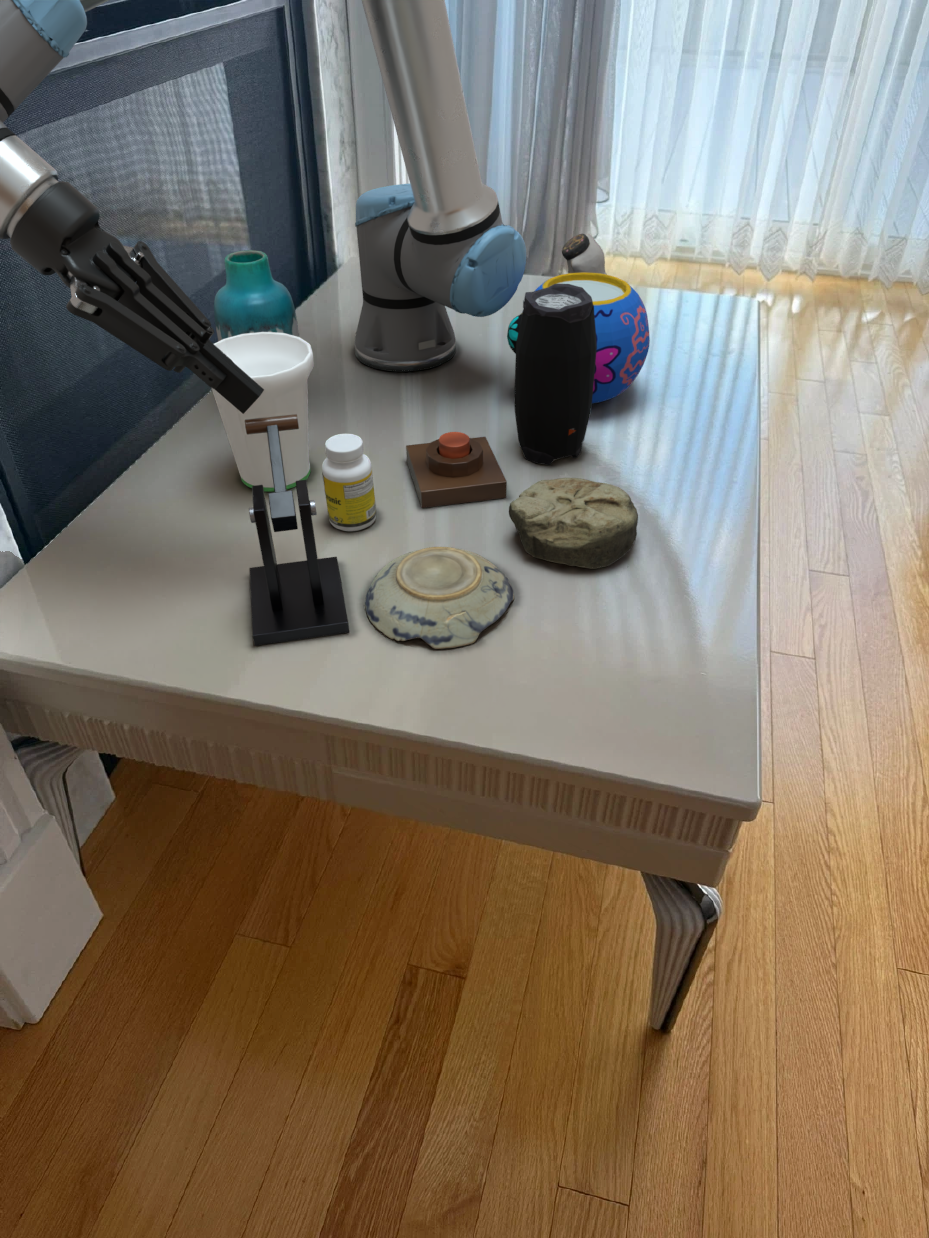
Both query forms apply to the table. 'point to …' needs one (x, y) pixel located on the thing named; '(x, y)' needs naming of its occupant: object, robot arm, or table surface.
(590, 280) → the ceramic pot
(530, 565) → the table surface
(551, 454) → the portable speaker
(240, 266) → the vase
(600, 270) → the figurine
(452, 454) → the button
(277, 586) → the bracket
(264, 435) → the cup
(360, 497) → the supplement bottle
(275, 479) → the lever
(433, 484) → the button block
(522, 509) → the stone
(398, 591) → the decorative bowl
